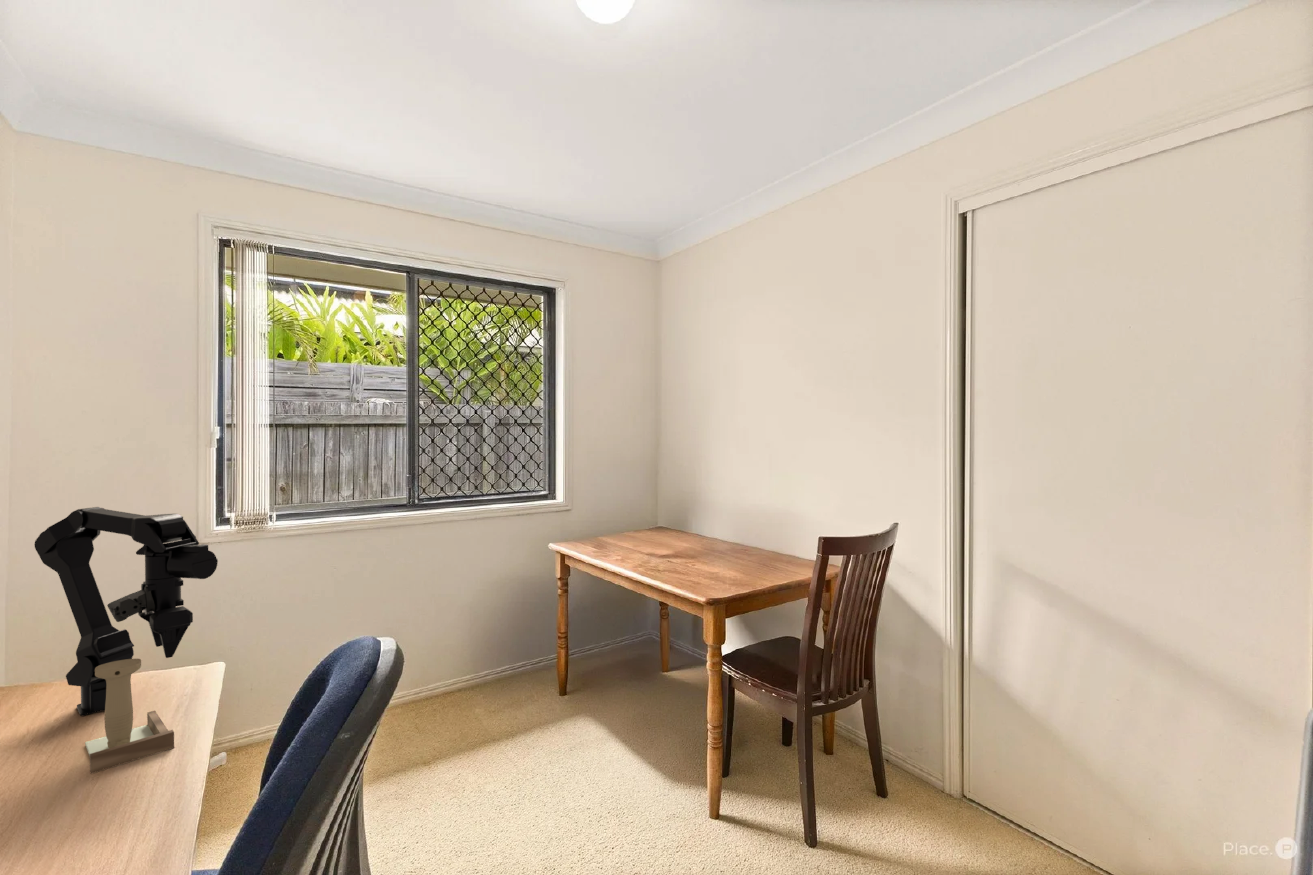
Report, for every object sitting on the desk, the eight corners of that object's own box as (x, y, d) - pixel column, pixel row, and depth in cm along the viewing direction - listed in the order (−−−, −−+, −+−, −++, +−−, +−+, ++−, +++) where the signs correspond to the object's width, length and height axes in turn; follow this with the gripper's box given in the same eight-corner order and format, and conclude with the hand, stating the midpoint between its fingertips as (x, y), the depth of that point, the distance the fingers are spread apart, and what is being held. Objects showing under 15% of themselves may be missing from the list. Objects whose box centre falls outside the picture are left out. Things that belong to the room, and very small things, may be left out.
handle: (97, 744, 113) (96, 664, 113) (142, 734, 117) (141, 656, 117) (94, 756, 110) (93, 672, 109) (141, 744, 113) (140, 664, 113)
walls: (81, 746, 114) (80, 730, 114) (159, 724, 122) (158, 709, 122) (90, 773, 105) (90, 756, 105) (174, 747, 114) (174, 731, 114)
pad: (85, 745, 114) (85, 741, 114) (147, 727, 121) (147, 724, 121) (94, 769, 106) (94, 766, 106) (160, 749, 113) (160, 745, 113)
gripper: (103, 575, 126) (104, 650, 126) (119, 592, 114) (120, 676, 114) (171, 566, 134) (172, 637, 135) (193, 581, 122) (193, 659, 122)
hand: (164, 651), depth 126 cm, fingers open, 9 cm apart
